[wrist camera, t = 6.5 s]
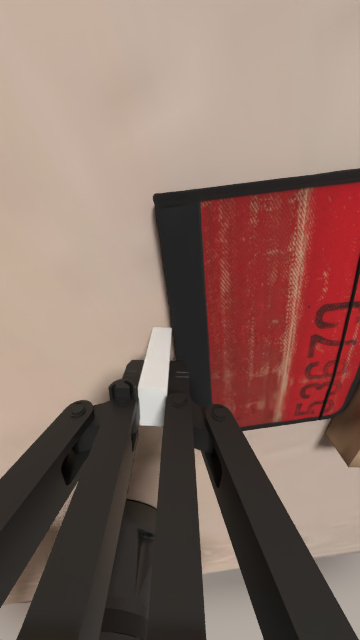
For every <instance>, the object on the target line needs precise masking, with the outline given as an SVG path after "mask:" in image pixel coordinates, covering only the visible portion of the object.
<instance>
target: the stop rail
mask: <svg viewBox="0 0 360 640" xmlns="http://www.w3.org/2000/svg"><path fill="white" fill-rule="evenodd" d="M325 434H326V435H327V436H328V438H329V439H330V441H331V442H332V444H333V445H334V447H335V448H336V450H337V451H338V452H339V454H340V455H341V457H342V458H343V460H344V461H345V463H346V464H347V466H348V467H360V380H359V382H358V384H357V387H356V389H355V391H354V394H353V396H352V398H351V401H350V403H349V405H348V407H347V408H346V409H345V410H344V411H343V412H342V413H340V414H339V415H337V416H335V417H333V419H332V421H331V423H330V425H329V427H328V429H327V431H326V432H325Z"/></svg>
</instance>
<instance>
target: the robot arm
mask: <svg viewBox="0 0 360 640" xmlns="http://www.w3.org/2000/svg"><path fill="white" fill-rule="evenodd" d="M171 337H172V328H161V327H153V330H152V334H151V338H150V341H149V345H148V349H147V353H146V357H145V360H132V361H131V362H130V363H128V364H127V367H126V369H125V372H124V375H123V378H122V379H120V380H117V381H115V382H113V383H112V384H111V385H110V386H109V394H110V401H108V402H106V403H103V404H98V405H94V406H93V405H92V403H91V402H89V401H87V400H80V401H76V402H74V403H72V404H70V405H69V406H68V407H67V408H66V409H65V410H64V411H63V412H62V413H61V414H60V415H59V416H58V417H57V418H56V419H55V421H54V422H53V423H52V424H51V425H50V426H49V427H48V428H47V429H46V430H45V431H44V432H43V434H42V435H41V436H40V437H39V438H38V439H37V440H36V441H35V442H34V443H33V444H32V445H31V446H30V448H29V449H28V450H27V451H26V452H25V453H24V454H23V455H22V456H21V457H20V458H19V459H18V461H17V462H16V463H15V464H14V465H13V466H12V467H11V468H10V469H9V470H8V471H7V472H6V474H5V475H4V476H3V477H2V478H1V479H0V608H1V606H2V604H3V603H4V601H5V600H6V598H7V596H8V595H9V593H10V591H11V590H12V588H13V587H14V585H15V583H16V582H17V580H18V578H19V577H20V575H21V573H22V572H23V570H24V569H25V567H26V565H27V564H28V562H29V560H30V559H31V557H32V556H33V554H34V552H35V551H36V549H37V547H38V546H39V544H40V542H41V541H42V539H43V538H44V536H45V534H46V533H47V531H48V529H49V528H50V526H51V525H52V523H53V521H54V520H55V518H56V516H57V515H58V513H59V511H60V510H61V508H62V507H63V505H64V503H65V502H66V500H67V498H68V497H69V495H70V494H71V492H72V490H73V489H74V487H75V485H76V484H77V482H78V484H77V487H76V489H75V492H74V494H73V497H72V499H71V502H70V505H69V507H68V510H67V512H66V515H65V517H64V520H63V523H62V525H61V528H60V530H59V533H58V535H57V538H56V541H55V543H54V546H53V548H52V551H51V553H50V556H49V558H48V561H47V564H46V566H45V569H44V571H43V574H42V576H41V579H40V582H39V584H38V587H37V589H36V592H35V594H34V597H33V600H32V602H31V605H30V607H29V610H28V613H27V615H26V618H25V620H24V623H23V625H22V628H21V630H20V633H19V635H18V637H17V639H16V640H206V630H205V613H204V597H203V582H202V565H201V550H200V534H199V518H198V502H197V486H196V470H195V454H194V448H195V449H198V450H201V453H202V456H203V459H204V462H205V465H206V468H207V471H208V474H209V477H210V480H211V483H212V486H213V489H214V492H215V495H216V498H217V501H218V504H219V507H220V510H221V513H222V516H223V519H224V522H225V525H226V528H227V531H228V534H229V537H230V540H231V543H232V546H233V549H234V552H235V555H236V558H237V561H238V564H239V567H240V570H241V573H242V576H243V579H244V581H245V584H246V588H247V590H248V593H249V596H250V599H251V602H252V605H253V608H254V611H255V614H256V617H257V620H258V623H259V626H260V629H261V632H262V635H263V638H264V640H359V639H358V638H357V636H356V634H355V632H354V631H353V629H352V627H351V625H350V623H349V622H348V620H347V618H346V616H345V614H344V613H343V611H342V609H341V607H340V605H339V604H338V602H337V600H336V598H335V597H334V595H333V593H332V591H331V589H330V588H329V586H328V584H327V582H326V580H325V579H324V577H323V575H322V573H321V572H320V570H319V568H318V566H317V564H316V563H315V561H314V559H313V557H312V555H311V554H310V552H309V550H308V548H307V546H306V545H305V543H304V541H303V539H302V538H301V536H300V534H299V532H298V530H297V529H296V527H295V525H294V523H293V521H292V520H291V518H290V516H289V514H288V513H287V511H286V509H285V507H284V505H283V504H282V502H281V500H280V498H279V496H278V495H277V493H276V491H275V489H274V488H273V486H272V484H271V482H270V480H269V479H268V477H267V475H266V473H265V471H264V470H263V468H262V466H261V464H260V462H259V461H258V459H257V457H256V455H255V454H254V452H253V450H252V448H251V446H250V445H249V443H248V441H247V439H246V437H245V436H244V434H243V432H242V430H241V429H240V427H239V425H238V423H237V421H236V420H235V418H234V416H233V414H232V412H231V411H230V410H229V409H228V408H227V407H225V406H224V405H221V404H212V405H210V406H209V407H207V408H205V407H202V406H199V405H197V404H196V403H194V402H193V401H192V399H191V398H190V392H189V375H188V366H187V364H186V363H185V361H171ZM139 421H140V425H142V426H164V427H163V439H162V452H161V464H160V477H159V489H158V502H157V510H156V509H154V508H152V507H150V506H147V505H145V504H142V503H138V502H134V501H128V500H126V496H127V491H128V486H129V481H130V476H131V470H132V465H133V460H134V455H135V450H136V444H137V439H138V426H139Z"/></svg>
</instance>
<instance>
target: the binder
mask: <svg viewBox="0 0 360 640" xmlns="http://www.w3.org/2000/svg"><path fill="white" fill-rule="evenodd" d="M153 201H154V204H155V209H156V221H157V226H158V230H159V236H160V242H161V251H162V259H163V264H164V272H165V279H166V286H167V293H168V298H169V305H170V311H171V321H172V328H173V335H174V342H175V349H176V356H177V361H185V363H186V364H187V366H188V375H189V392H190V398H191V399H192V401H193V402H194V403H196V404H197V405H199V406H202V407H205V408H207V407H209V406H210V405H212V404H221V405H224V406H225V407H227V408H228V409H229V410H230V411H231V412H232V414H233V416H234V418H235V420H236V421H237V423H238V425H239V427H240V429H241V430H242V431H246V430H253V429H260V428H268V427H275V426H281V425H288V424H296V423H302V422H308V421H316V420H324V419H329V418H332V417H335V416H337V415H339V414H340V413H342V412H343V411H344V410H345V409H346V408H347V407H348V405H349V403H350V401H351V398H352V396H353V394H354V391H355V389H356V387H357V384H358V382H359V380H360V168H359V169H350V170H342V171H334V172H328V173H321V174H315V175H305V176H298V177H289V178H281V179H273V180H265V181H257V182H249V183H241V184H233V185H225V186H217V187H209V188H201V189H193V190H186V191H177V192H167V193H156V194H154V196H153Z"/></svg>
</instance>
